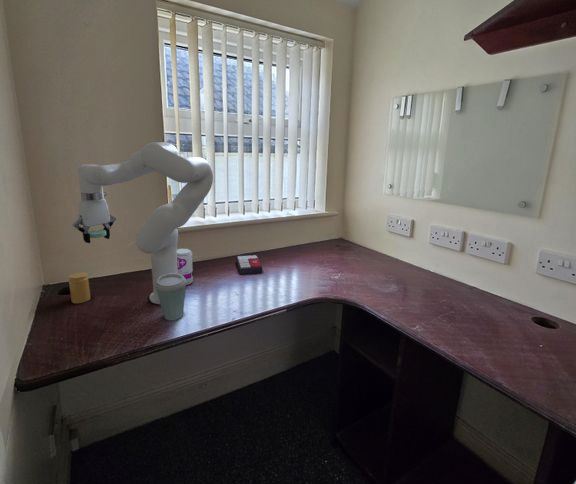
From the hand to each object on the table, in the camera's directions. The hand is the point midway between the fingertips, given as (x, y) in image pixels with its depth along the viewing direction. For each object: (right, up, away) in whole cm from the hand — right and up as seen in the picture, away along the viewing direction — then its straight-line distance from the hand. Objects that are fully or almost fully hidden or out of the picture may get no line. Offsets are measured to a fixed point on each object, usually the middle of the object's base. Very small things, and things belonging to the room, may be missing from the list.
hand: (97, 239), depth 128 cm
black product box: (+57, -16, +34) cm, 68 cm away
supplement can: (+30, -20, +15) cm, 39 cm away
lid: (0, +3, -1) cm, 3 cm away
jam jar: (-4, -23, -4) cm, 24 cm away
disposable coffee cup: (+35, -27, -12) cm, 46 cm away
